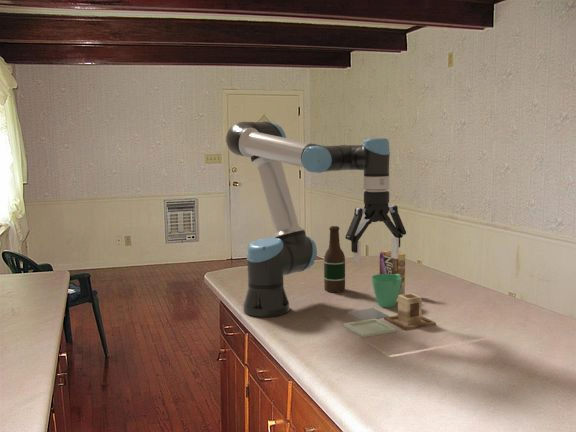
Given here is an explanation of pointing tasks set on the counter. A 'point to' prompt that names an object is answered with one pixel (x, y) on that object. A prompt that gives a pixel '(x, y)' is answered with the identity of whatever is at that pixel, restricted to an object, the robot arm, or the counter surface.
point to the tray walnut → (423, 323)
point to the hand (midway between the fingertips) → (376, 260)
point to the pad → (367, 314)
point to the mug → (387, 288)
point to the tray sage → (369, 327)
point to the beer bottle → (334, 264)
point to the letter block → (409, 309)
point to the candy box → (393, 266)
